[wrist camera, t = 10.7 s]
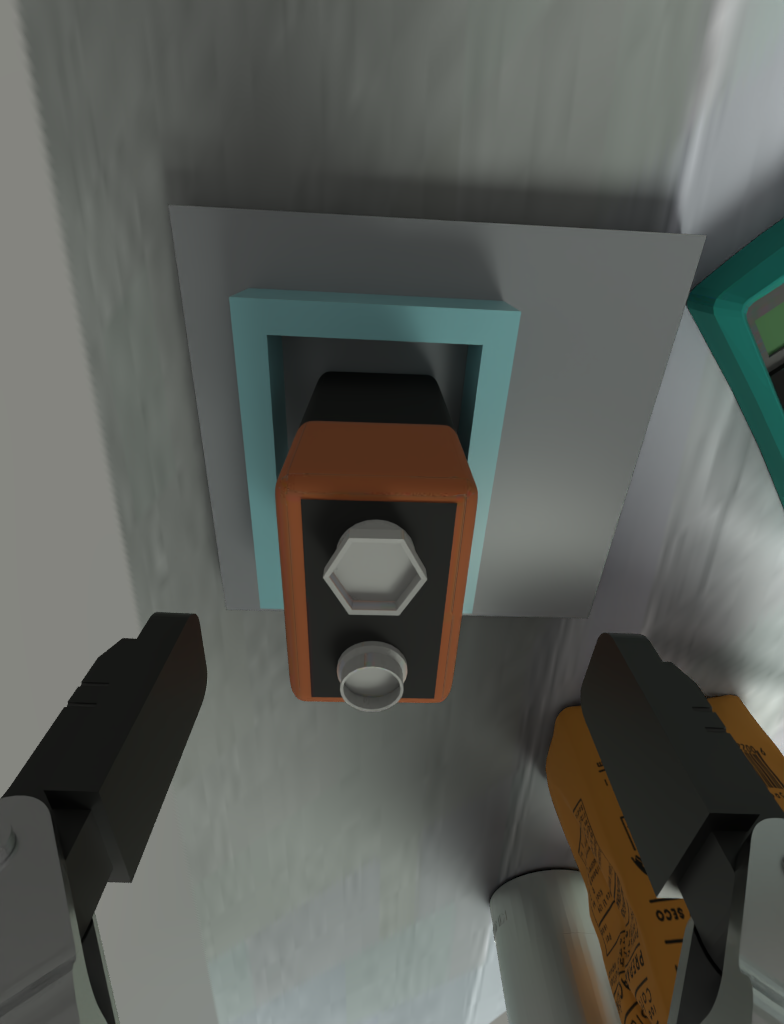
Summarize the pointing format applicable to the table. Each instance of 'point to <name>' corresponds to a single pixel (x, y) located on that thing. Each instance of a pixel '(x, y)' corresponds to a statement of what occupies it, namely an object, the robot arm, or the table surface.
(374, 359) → the plate
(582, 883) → the robot arm
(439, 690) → the battery
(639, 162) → the table surface
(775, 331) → the digital multimeter
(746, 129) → the table surface
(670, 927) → the coffee package
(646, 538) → the table surface
